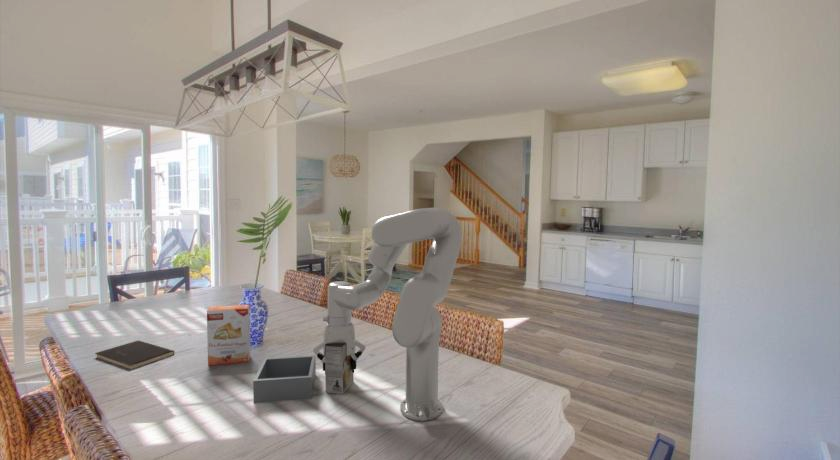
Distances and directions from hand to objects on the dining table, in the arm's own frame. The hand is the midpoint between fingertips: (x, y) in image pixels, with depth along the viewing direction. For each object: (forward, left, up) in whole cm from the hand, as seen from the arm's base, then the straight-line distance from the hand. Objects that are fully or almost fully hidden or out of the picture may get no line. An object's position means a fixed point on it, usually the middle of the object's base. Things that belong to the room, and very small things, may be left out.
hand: (339, 371), depth 132 cm
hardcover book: (+38, +78, -6) cm, 87 cm away
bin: (+2, +17, -5) cm, 18 cm away
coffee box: (0, 0, -6) cm, 6 cm away
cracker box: (+27, +41, -6) cm, 49 cm away
